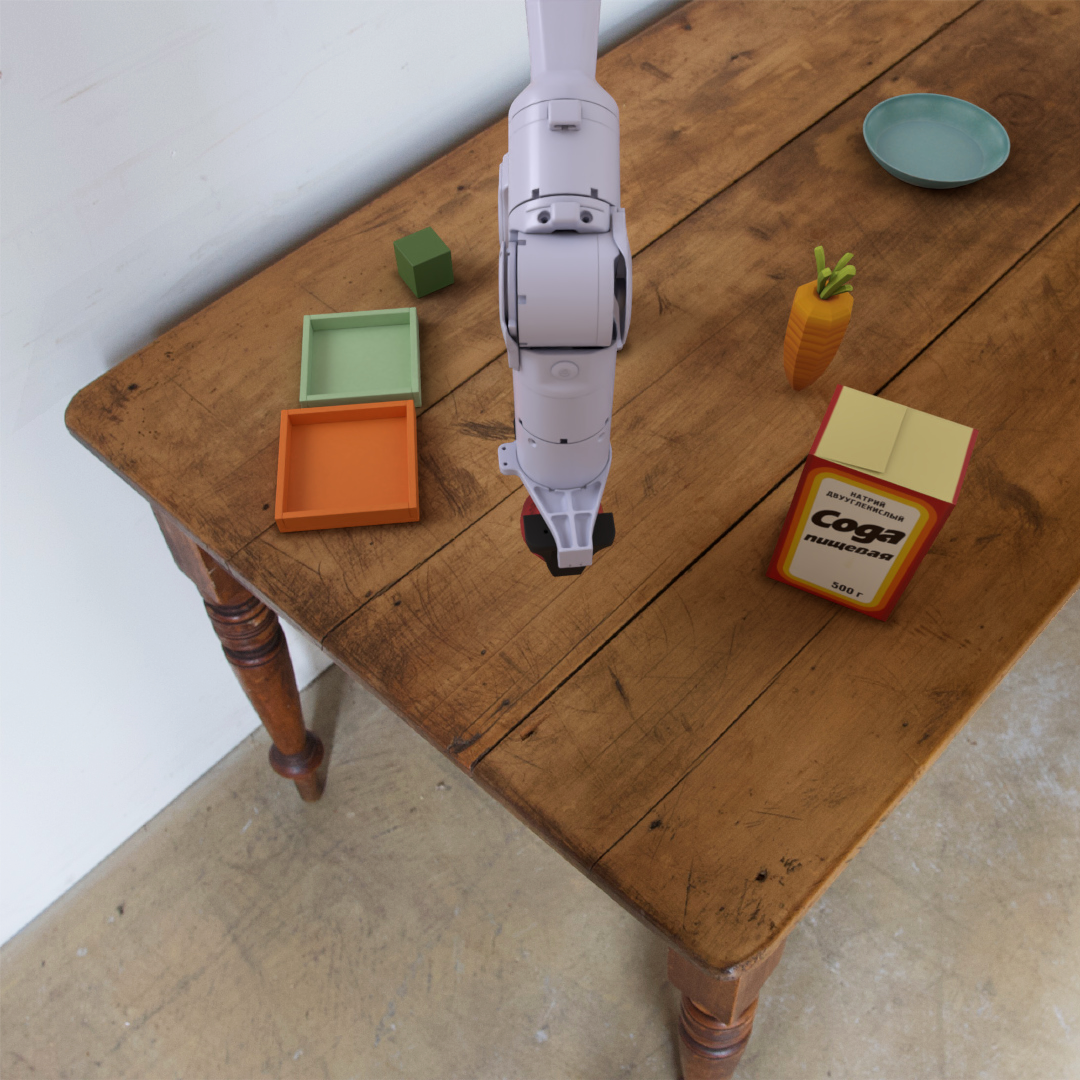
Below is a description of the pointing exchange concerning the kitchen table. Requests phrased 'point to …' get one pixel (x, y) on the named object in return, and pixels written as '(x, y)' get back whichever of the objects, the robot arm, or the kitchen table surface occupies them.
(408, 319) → the green tray
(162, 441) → the kitchen table surface
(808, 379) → the carrot
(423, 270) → the green block
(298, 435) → the orange tray
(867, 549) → the baking soda box
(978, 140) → the saucer
